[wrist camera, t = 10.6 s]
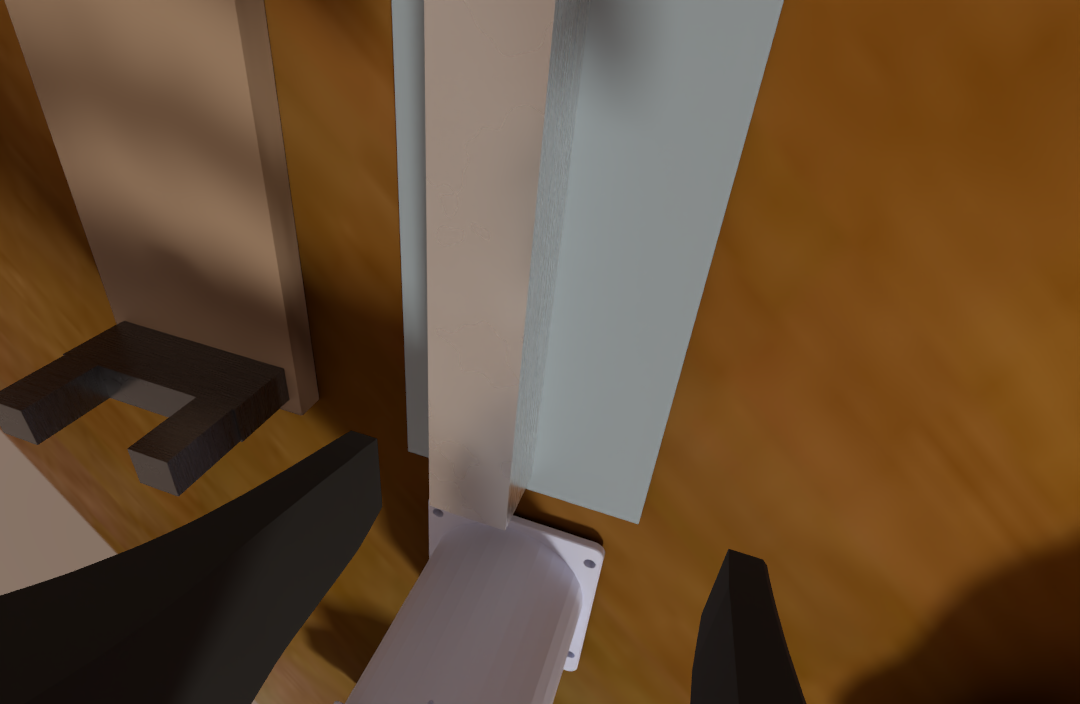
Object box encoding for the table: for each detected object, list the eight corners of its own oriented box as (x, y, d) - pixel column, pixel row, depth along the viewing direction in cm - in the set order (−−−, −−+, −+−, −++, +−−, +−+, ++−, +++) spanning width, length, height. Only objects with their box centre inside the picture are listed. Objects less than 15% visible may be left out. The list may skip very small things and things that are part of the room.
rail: (532, 474, 24) (505, 530, 22) (462, 453, 25) (429, 505, 23) (629, -317, 12) (591, -386, 10) (487, -322, 13) (420, -386, 10)
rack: (319, 399, 27) (197, 515, 21) (151, 347, 29) (-1, 442, 23) (217, -330, 14) (-140, -511, 9) (-66, -337, 16) (-509, -491, 11)
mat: (640, 516, 24) (638, 524, 24) (412, 445, 26) (408, 451, 26) (892, -396, 11) (896, -406, 11) (386, -394, 13) (376, -403, 13)
